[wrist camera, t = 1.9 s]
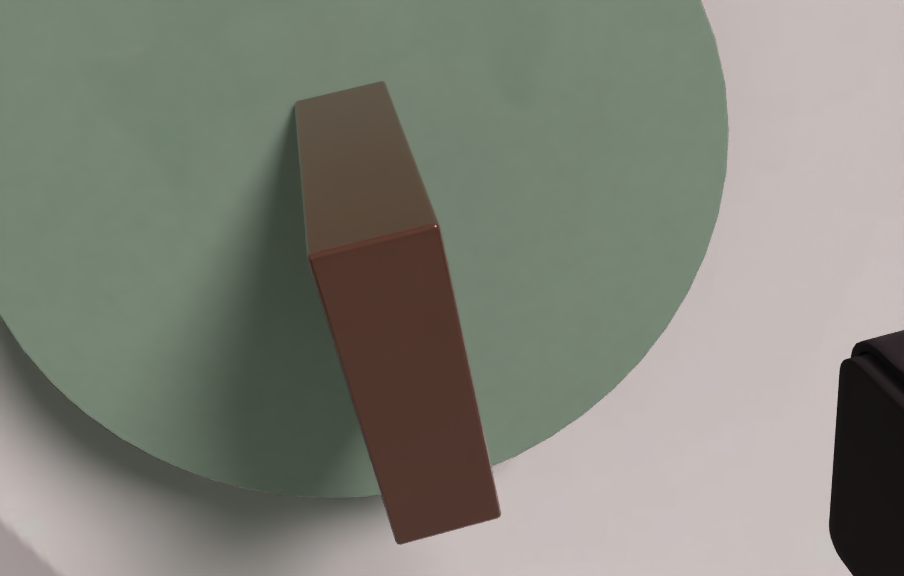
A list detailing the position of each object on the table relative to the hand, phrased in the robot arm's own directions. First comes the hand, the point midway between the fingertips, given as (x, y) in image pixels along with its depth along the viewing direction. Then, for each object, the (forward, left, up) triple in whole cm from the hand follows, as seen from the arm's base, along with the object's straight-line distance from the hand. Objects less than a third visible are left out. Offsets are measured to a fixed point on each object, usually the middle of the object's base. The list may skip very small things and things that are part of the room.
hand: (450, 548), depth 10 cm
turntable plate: (0, 0, -9) cm, 9 cm away
